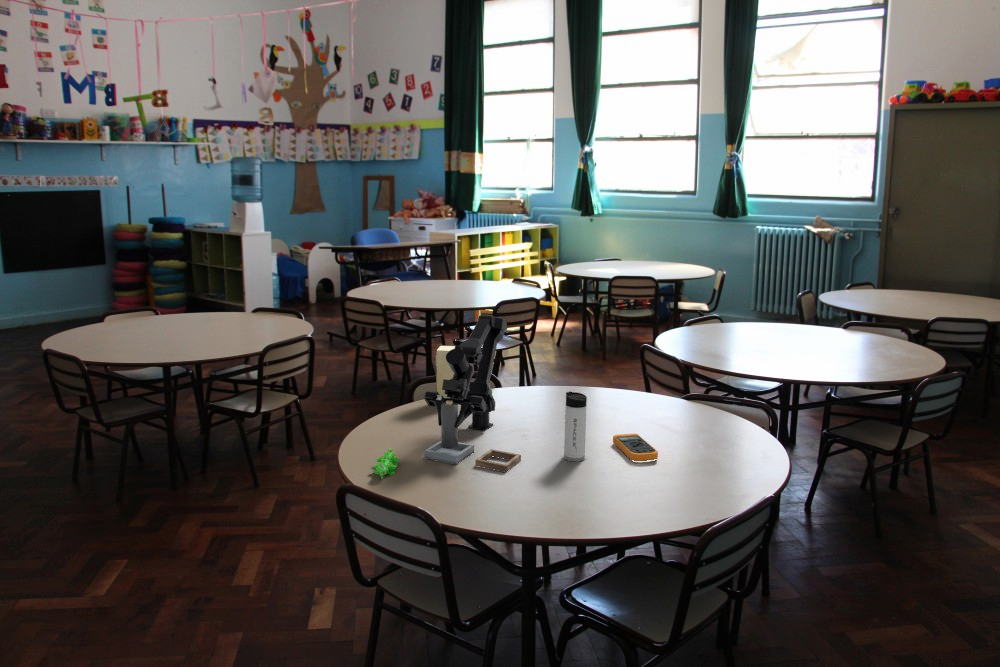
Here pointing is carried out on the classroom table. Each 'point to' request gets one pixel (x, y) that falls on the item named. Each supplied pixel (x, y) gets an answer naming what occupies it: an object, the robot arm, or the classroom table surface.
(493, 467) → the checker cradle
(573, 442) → the travel mug
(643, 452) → the multimeter
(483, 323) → the robot arm
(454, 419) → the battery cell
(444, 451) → the tray
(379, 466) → the crocodile figurine
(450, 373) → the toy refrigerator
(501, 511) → the classroom table surface
